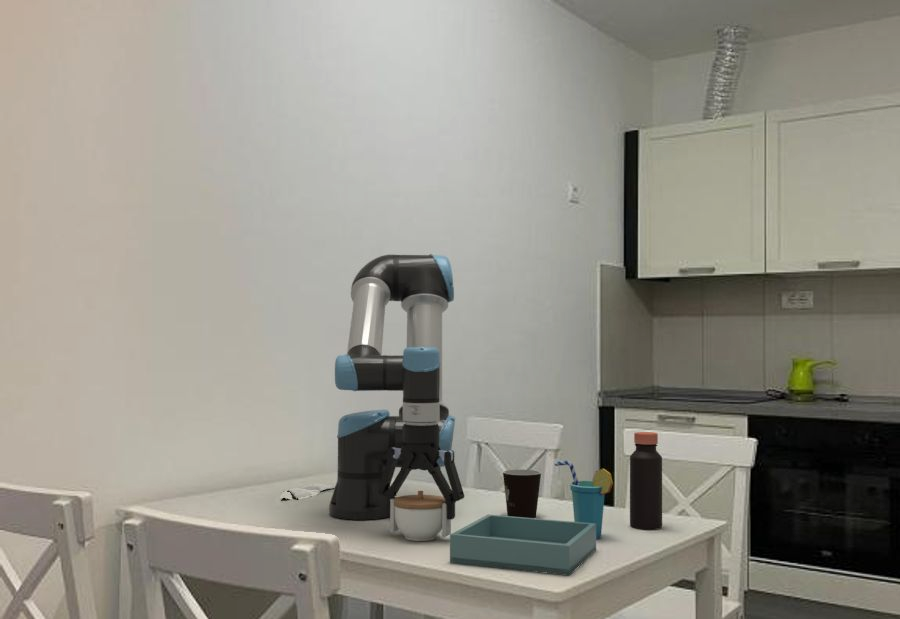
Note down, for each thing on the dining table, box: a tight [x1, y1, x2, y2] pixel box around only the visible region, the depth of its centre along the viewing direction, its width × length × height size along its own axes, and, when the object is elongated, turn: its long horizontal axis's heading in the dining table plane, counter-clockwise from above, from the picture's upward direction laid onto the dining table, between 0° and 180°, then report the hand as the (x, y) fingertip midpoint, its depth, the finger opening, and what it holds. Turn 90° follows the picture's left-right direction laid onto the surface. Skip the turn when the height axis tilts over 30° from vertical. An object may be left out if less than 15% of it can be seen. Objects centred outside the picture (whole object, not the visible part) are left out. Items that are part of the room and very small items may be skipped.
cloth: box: [280, 483, 334, 500], centre depth 233 cm, size 26×14×2 cm, turn 146°
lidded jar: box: [394, 490, 446, 542], centre depth 182 cm, size 11×11×9 cm
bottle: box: [629, 431, 663, 531], centre depth 194 cm, size 7×7×20 cm
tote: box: [449, 514, 597, 576], centre depth 168 cm, size 22×20×5 cm
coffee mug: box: [502, 468, 542, 519], centre depth 206 cm, size 12×9×10 cm
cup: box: [554, 460, 614, 540], centre depth 185 cm, size 14×8×15 cm, turn 53°
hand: (420, 532), depth 182 cm, fingers closed on lidded jar, 11 cm apart
